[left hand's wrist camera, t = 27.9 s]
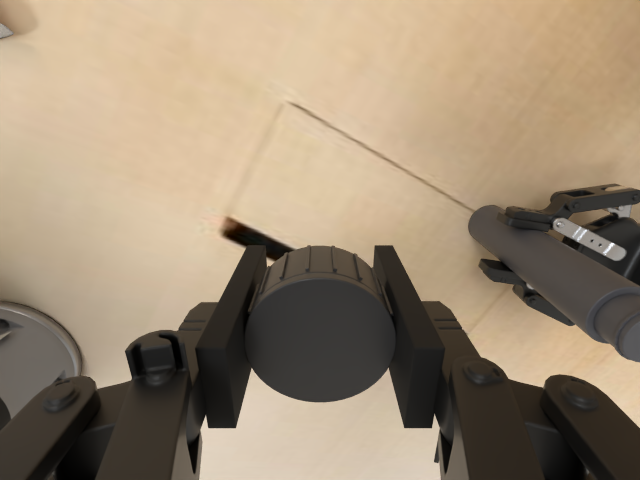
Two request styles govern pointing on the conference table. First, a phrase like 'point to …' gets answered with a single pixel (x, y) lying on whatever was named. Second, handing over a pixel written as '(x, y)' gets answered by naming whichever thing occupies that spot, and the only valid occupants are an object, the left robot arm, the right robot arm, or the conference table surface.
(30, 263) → the conference table surface
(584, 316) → the bottle
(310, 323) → the lid
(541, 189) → the conference table surface
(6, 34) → the fish
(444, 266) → the conference table surface
